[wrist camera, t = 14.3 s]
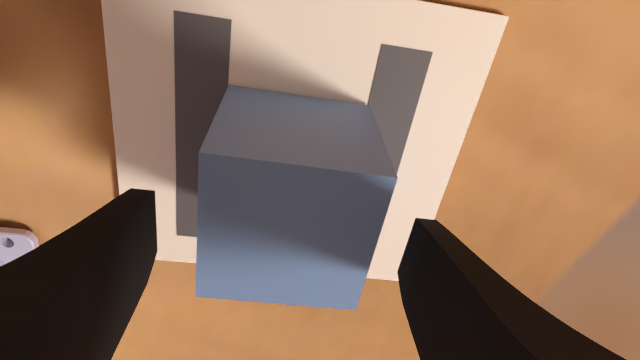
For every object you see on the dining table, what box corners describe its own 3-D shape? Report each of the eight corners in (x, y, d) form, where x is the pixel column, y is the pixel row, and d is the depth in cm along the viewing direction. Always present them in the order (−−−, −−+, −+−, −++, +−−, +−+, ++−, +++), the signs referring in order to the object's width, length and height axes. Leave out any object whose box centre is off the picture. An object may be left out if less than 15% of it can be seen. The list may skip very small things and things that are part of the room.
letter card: (127, 252, 18) (124, 257, 18) (99, -57, 12) (95, -57, 12) (409, 277, 20) (411, 282, 19) (505, 15, 14) (509, 17, 14)
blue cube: (221, 202, 17) (195, 296, 12) (228, 84, 14) (198, 152, 10) (341, 216, 17) (355, 310, 13) (369, 105, 15) (397, 177, 11)
